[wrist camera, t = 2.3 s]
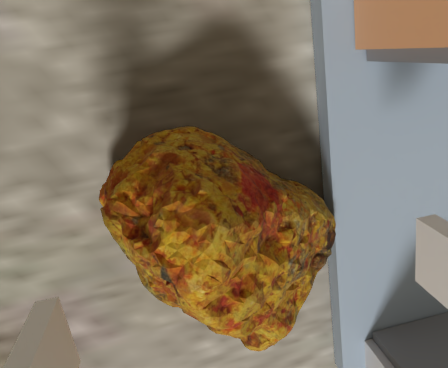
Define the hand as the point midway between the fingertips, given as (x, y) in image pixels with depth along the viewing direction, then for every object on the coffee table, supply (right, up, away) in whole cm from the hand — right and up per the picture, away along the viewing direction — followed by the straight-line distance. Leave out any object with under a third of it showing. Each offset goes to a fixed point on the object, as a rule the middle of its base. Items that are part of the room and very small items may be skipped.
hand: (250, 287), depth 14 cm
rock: (-2, +2, +7) cm, 8 cm away
